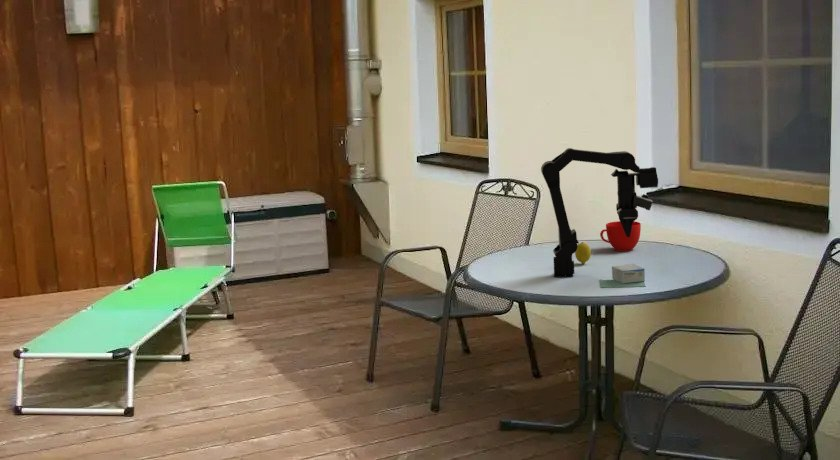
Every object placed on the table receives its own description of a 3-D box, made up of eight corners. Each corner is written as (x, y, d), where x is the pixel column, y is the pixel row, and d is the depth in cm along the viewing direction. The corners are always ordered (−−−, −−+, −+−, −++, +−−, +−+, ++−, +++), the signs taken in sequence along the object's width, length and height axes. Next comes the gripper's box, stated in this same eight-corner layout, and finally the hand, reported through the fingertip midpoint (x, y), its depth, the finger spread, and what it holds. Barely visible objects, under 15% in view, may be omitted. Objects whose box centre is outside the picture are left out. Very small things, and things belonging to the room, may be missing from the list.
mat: (600, 287, 310) (600, 287, 309) (599, 280, 320) (599, 279, 320) (645, 286, 307) (645, 286, 307) (643, 279, 318) (643, 278, 317)
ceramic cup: (591, 250, 370) (590, 225, 368) (627, 245, 377) (626, 219, 375) (611, 255, 358) (610, 229, 357) (648, 249, 365) (647, 223, 363)
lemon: (580, 266, 344) (580, 244, 342) (572, 263, 349) (571, 241, 348) (594, 264, 346) (593, 242, 344) (585, 261, 351) (585, 240, 350)
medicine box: (611, 278, 320) (622, 284, 312) (611, 265, 319) (622, 270, 311) (634, 276, 322) (645, 281, 313) (633, 263, 321) (644, 268, 312)
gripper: (653, 191, 314) (654, 238, 317) (648, 184, 332) (649, 229, 335) (618, 193, 316) (619, 240, 319) (615, 186, 334) (616, 230, 337)
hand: (627, 234), depth 327 cm, fingers open, 9 cm apart
